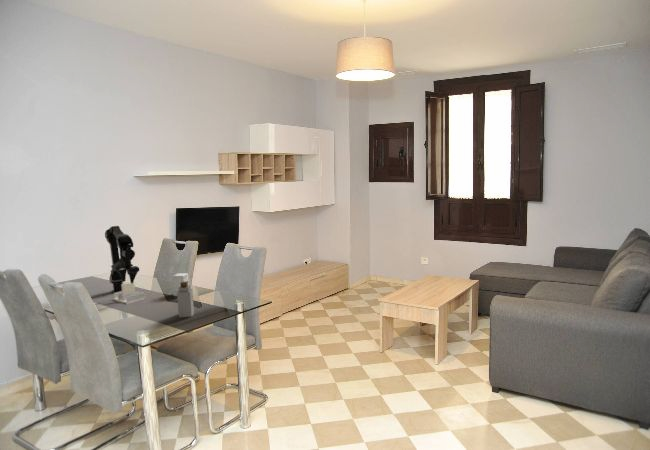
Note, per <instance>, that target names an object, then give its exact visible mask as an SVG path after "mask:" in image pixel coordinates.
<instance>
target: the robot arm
mask: <svg viewBox="0 0 650 450" xmlns="http://www.w3.org/2000/svg"><path fill="white" fill-rule="evenodd" d="M104 237H105V240H106V242H107V243H108V244H109V249H110V255H111V256H110V257H111V263H112V265H111V266H110V267H111V270H110V275H109V278H108V279H109V283H110V284H112V287H113V289H112V290H111V292H112V293H116V292H120V291H122V286H121V284H124V283H123V282H126V280H127V279H126V276H127V275H128V277H129V282H131V283H133V282H134V280H135V279H136V276H137V274H138V273H139V272H140V267H139V266H136V265H134V264H132V260H133V259H134V257H135V255H136V252H135V250H133V249H132V248H134V241H133V239H132V237H131V236H130V235H129V234H126V233H125V232H123V231H122V230H121V228H120V226H119V225H113V226H110V227H109V228H108V229H106V230H105V232H104Z"/></svg>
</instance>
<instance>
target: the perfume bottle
mask: <svg viewBox="0 0 650 450" xmlns="http://www.w3.org/2000/svg"><path fill="white" fill-rule="evenodd" d="M180 284H181V286H180V287H179V288H178V289H179V291H178V292H177V296H176V299H177V310H178V311H177V312H178V318H190V317H193V316H194V313H195V307H194V305H195V304H194V294H193V288H191V284H189V285H188V282H181V283H180Z"/></svg>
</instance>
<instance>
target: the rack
mask: <svg viewBox="0 0 650 450" xmlns="http://www.w3.org/2000/svg"><path fill="white" fill-rule="evenodd" d="M145 299H146V296H145V292H144V291H143V292H140V290H139V291H135V292H134V293H130V294H126V295H122V291H120V292H116V293H115V292H113V298H112V300H113V301H116V302H120V303H122V304H126V305H128V304H131V303H135V302H139V301H142V300H145Z"/></svg>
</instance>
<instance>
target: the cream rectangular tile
mask: <svg viewBox="0 0 650 450" xmlns="http://www.w3.org/2000/svg"><path fill="white" fill-rule="evenodd" d="M121 286H122V295H126V294H130V293H134V292H136V285H135V282H134V281H133V283H131V281H129V282H125V283H123V284H121Z"/></svg>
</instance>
